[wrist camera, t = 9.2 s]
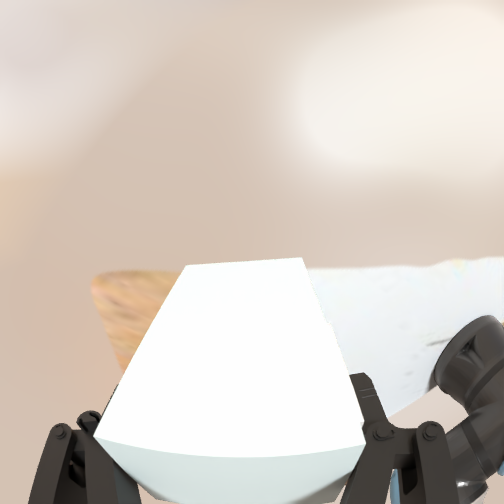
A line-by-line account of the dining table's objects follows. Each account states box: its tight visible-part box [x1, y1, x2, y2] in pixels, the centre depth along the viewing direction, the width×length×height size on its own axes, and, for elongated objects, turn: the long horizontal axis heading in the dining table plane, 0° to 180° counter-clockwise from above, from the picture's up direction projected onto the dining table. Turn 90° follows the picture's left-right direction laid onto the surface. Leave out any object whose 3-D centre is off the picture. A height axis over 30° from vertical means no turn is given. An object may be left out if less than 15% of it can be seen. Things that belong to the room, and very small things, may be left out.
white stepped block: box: [93, 258, 366, 504], centre depth 16 cm, size 23×8×14 cm, turn 5°
